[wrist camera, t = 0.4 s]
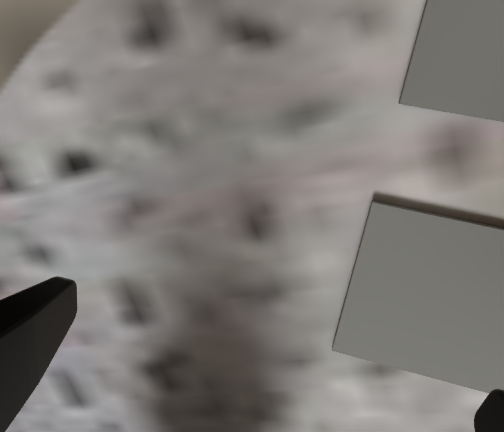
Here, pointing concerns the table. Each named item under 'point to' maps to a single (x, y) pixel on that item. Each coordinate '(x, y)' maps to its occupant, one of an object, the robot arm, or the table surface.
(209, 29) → the table surface
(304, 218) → the table surface
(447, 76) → the mat
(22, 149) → the table surface
